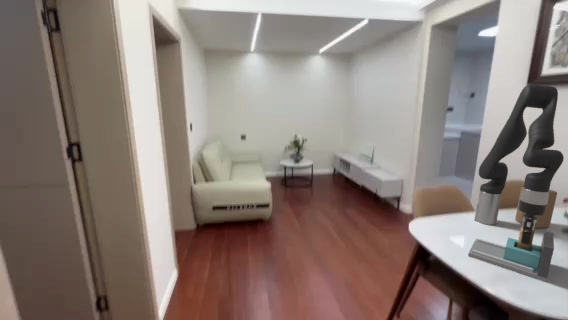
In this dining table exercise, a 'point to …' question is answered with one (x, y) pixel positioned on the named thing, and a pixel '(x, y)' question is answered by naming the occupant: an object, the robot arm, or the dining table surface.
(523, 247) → the dowel
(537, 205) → the robot arm
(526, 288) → the dining table surface
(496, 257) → the rail base
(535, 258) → the socket block
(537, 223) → the block
